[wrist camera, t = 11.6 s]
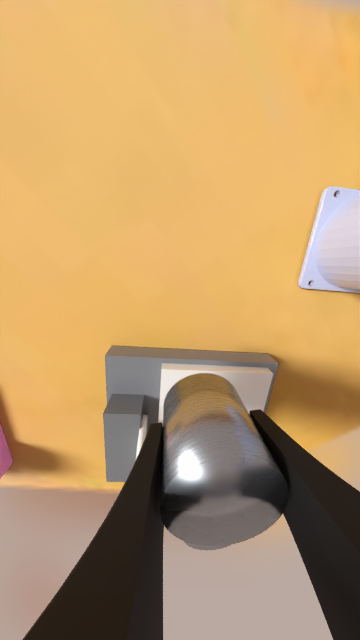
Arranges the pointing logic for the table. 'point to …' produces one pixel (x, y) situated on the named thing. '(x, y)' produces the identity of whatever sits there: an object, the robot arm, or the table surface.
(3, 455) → the bracket
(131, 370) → the scale
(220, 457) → the cylinder
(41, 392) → the table surface
